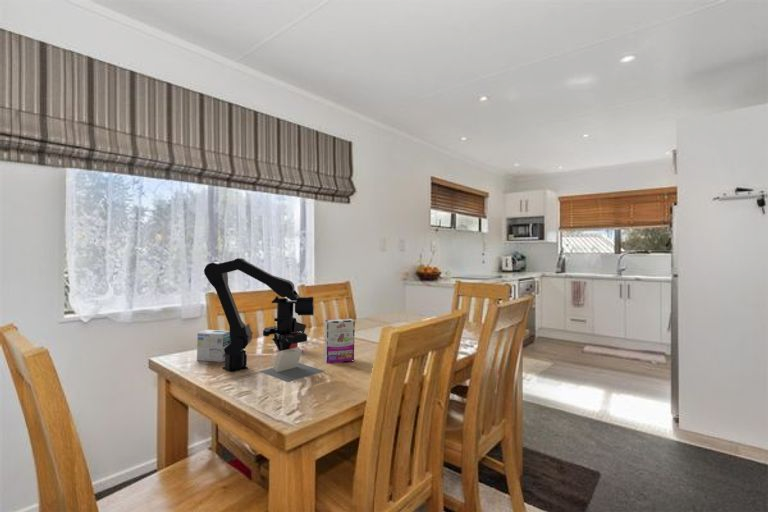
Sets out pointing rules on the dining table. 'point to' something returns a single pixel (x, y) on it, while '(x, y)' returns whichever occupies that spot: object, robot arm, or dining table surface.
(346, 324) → the candy bar box
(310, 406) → the dining table surface
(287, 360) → the deck
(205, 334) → the light bulb box
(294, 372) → the mat
